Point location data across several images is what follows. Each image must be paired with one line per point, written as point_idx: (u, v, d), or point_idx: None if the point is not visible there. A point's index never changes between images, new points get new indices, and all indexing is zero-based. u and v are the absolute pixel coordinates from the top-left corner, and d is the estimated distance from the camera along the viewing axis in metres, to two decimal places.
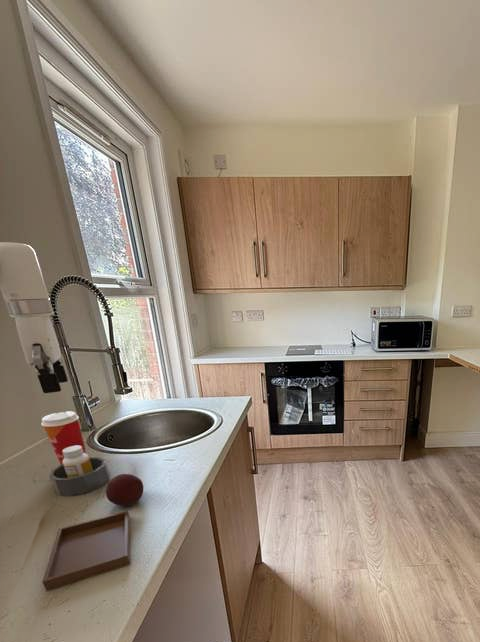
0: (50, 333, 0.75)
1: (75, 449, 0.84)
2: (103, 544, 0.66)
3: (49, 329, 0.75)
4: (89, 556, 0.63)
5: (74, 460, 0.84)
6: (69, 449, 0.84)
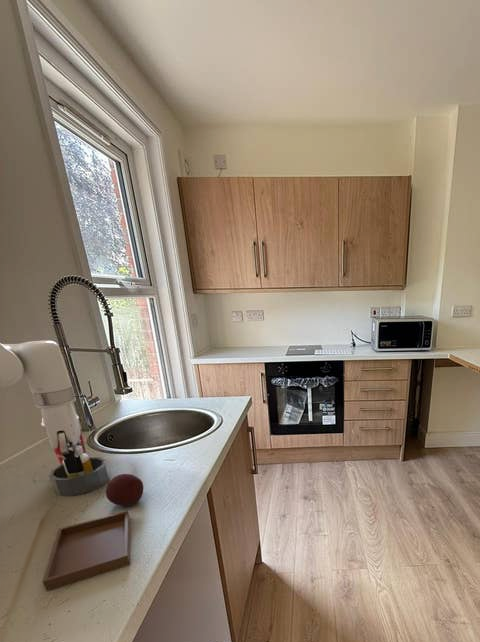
0: (72, 418, 0.81)
1: None
2: (103, 544, 0.66)
3: (71, 414, 0.80)
4: (89, 556, 0.63)
5: None
6: (69, 449, 0.84)
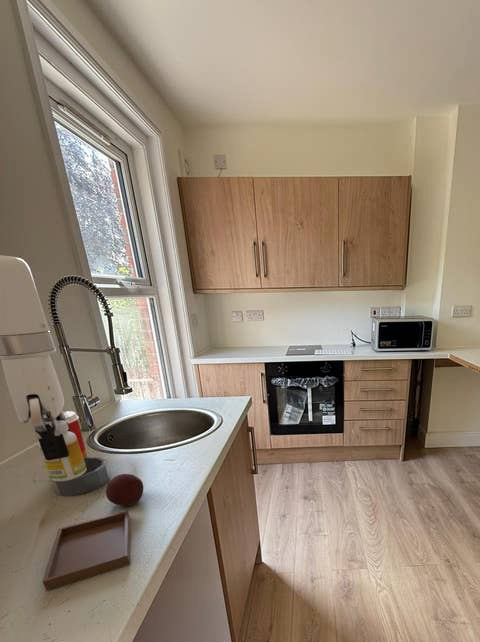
0: (51, 378, 0.55)
1: None
2: (103, 544, 0.66)
3: (49, 372, 0.55)
4: (89, 556, 0.63)
5: None
6: None
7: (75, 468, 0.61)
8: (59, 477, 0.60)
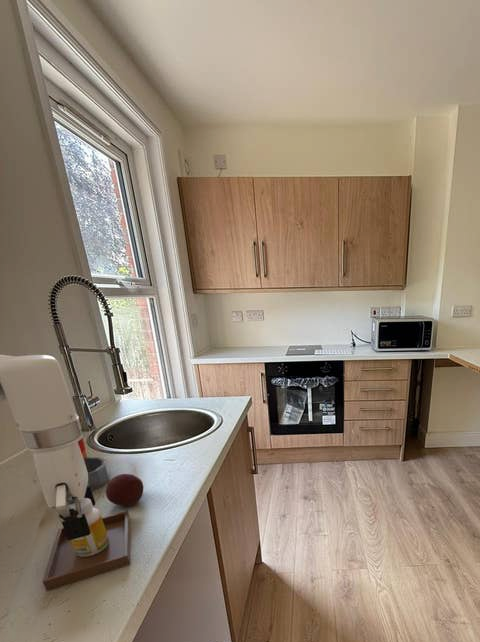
0: (77, 463, 0.57)
1: (82, 505, 0.61)
2: None
3: (76, 458, 0.57)
4: (89, 556, 0.63)
5: None
6: (74, 505, 0.61)
7: (99, 544, 0.63)
8: (84, 553, 0.62)
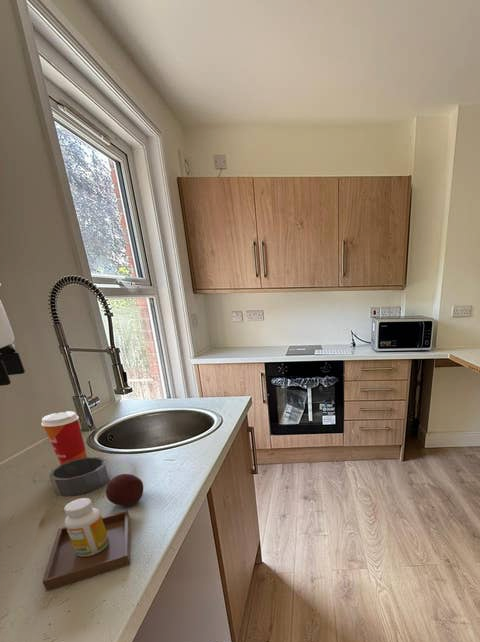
0: None
1: (82, 505, 0.61)
2: None
3: None
4: (89, 556, 0.63)
5: (81, 521, 0.60)
6: (74, 505, 0.61)
7: (99, 544, 0.63)
8: (84, 553, 0.62)
